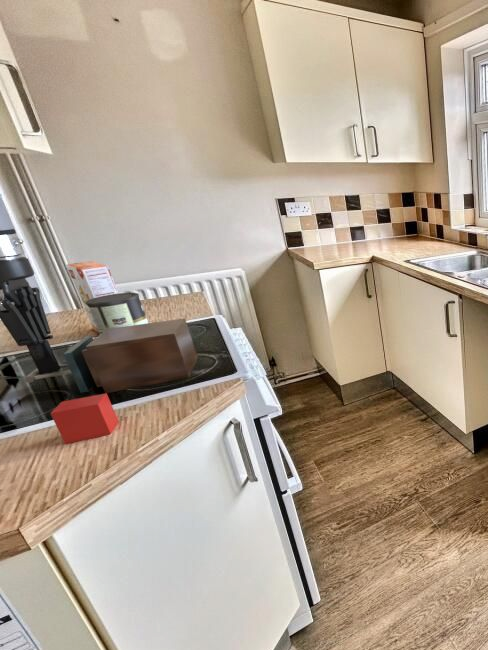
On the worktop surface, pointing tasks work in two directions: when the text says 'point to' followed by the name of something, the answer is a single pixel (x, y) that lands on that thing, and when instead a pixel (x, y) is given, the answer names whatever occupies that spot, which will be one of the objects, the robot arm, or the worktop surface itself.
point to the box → (85, 418)
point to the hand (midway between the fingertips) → (50, 371)
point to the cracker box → (91, 283)
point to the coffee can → (117, 311)
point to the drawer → (75, 367)
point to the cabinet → (143, 355)
